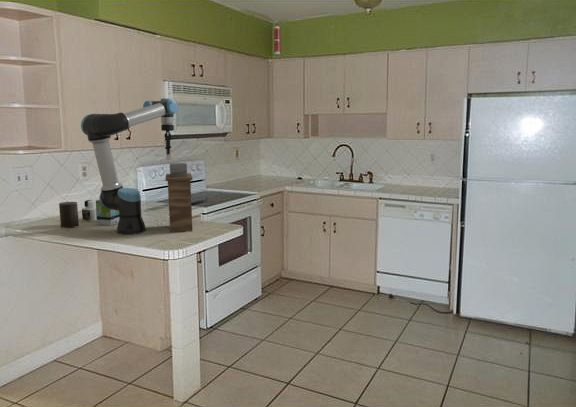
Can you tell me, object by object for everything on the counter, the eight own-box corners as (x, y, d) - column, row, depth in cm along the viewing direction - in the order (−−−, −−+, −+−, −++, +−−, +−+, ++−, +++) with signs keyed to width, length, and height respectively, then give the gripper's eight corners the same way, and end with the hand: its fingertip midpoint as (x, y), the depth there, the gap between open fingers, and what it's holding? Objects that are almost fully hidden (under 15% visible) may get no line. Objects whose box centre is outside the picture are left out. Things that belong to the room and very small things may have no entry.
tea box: (111, 226, 287) (109, 201, 284) (96, 225, 289) (94, 200, 286) (126, 220, 301) (124, 196, 298) (111, 219, 303) (110, 195, 301)
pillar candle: (67, 228, 280) (65, 202, 278) (57, 226, 286) (55, 201, 283) (82, 225, 288) (80, 200, 286) (72, 223, 294) (70, 198, 291)
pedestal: (194, 231, 273) (192, 177, 267) (168, 233, 270) (165, 178, 264) (192, 223, 291) (190, 173, 285) (168, 225, 288) (165, 174, 282)
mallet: (187, 176, 270) (186, 163, 269) (170, 177, 268) (169, 164, 267) (185, 171, 294) (185, 159, 293) (170, 171, 292) (169, 159, 291)
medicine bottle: (82, 220, 302) (80, 200, 300) (91, 217, 308) (90, 199, 306) (90, 221, 299) (88, 201, 297) (99, 219, 305) (98, 199, 303)
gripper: (174, 124, 292) (175, 160, 295) (173, 124, 316) (174, 157, 319) (160, 124, 290) (162, 160, 293) (161, 124, 314) (162, 157, 317)
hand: (168, 159), depth 306 cm, fingers open, 13 cm apart
